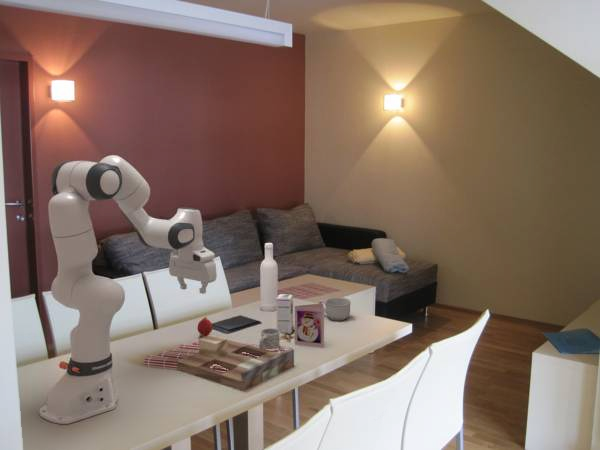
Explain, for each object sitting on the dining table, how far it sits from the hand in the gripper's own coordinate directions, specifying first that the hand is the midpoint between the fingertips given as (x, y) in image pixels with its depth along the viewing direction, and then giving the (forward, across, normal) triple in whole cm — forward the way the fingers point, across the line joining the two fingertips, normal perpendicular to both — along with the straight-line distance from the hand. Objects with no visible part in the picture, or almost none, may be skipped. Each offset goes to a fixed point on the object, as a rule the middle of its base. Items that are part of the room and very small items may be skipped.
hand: (193, 291), depth 223 cm
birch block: (+21, +9, 0) cm, 23 cm away
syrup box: (+26, +9, +40) cm, 49 cm away
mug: (+25, +17, +19) cm, 36 cm away
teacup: (+27, +16, +66) cm, 73 cm away
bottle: (+26, -15, +60) cm, 68 cm away
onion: (+25, -12, +16) cm, 32 cm away
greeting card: (+26, +26, +34) cm, 50 cm away
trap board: (+24, +19, -1) cm, 31 cm away
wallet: (+26, -13, +34) cm, 45 cm away
